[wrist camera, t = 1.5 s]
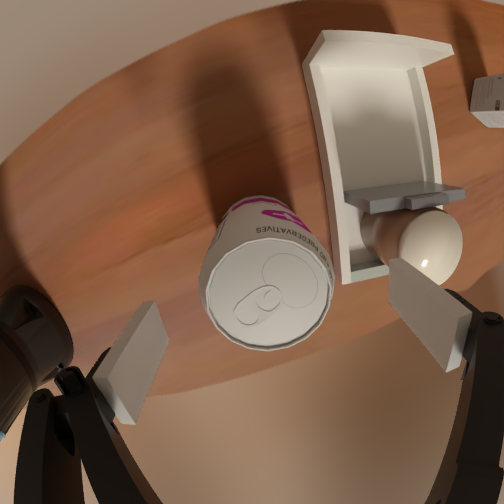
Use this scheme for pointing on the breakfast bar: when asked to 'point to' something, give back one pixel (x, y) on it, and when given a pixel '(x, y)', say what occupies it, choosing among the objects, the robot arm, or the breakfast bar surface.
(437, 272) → the jar
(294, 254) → the supplement can
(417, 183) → the pusher
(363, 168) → the lane
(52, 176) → the breakfast bar surface
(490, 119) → the skincare box
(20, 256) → the breakfast bar surface
